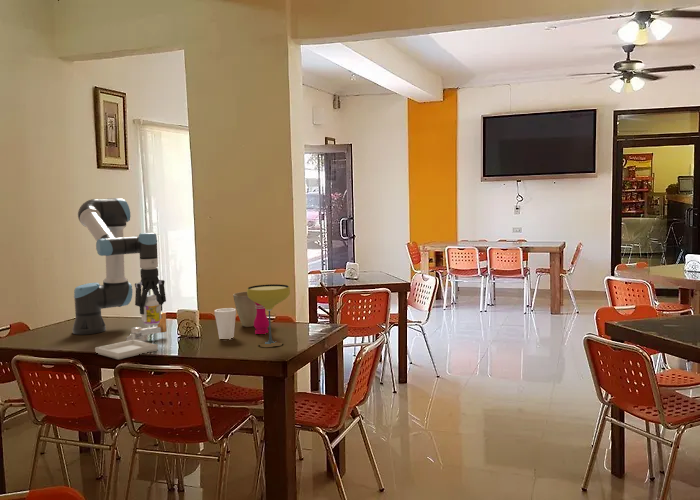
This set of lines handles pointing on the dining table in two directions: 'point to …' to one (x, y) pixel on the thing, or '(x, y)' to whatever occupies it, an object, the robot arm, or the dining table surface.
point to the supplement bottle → (152, 311)
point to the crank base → (137, 338)
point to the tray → (126, 349)
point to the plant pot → (245, 309)
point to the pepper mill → (261, 320)
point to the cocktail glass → (268, 298)
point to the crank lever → (151, 328)
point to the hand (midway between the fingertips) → (151, 319)
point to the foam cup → (225, 322)
